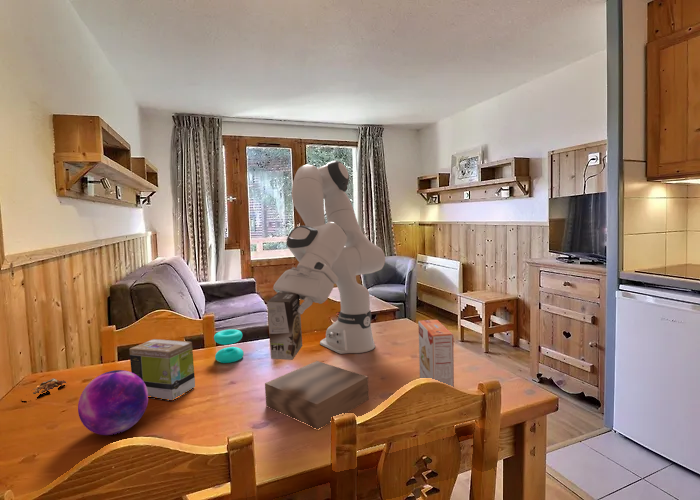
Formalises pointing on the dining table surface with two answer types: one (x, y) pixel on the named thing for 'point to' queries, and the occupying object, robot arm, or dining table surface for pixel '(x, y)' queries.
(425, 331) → the cracker box
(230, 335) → the donuts
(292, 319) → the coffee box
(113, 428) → the decorative orb
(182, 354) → the tea box
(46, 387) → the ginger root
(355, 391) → the walnut block
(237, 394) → the dining table surface
